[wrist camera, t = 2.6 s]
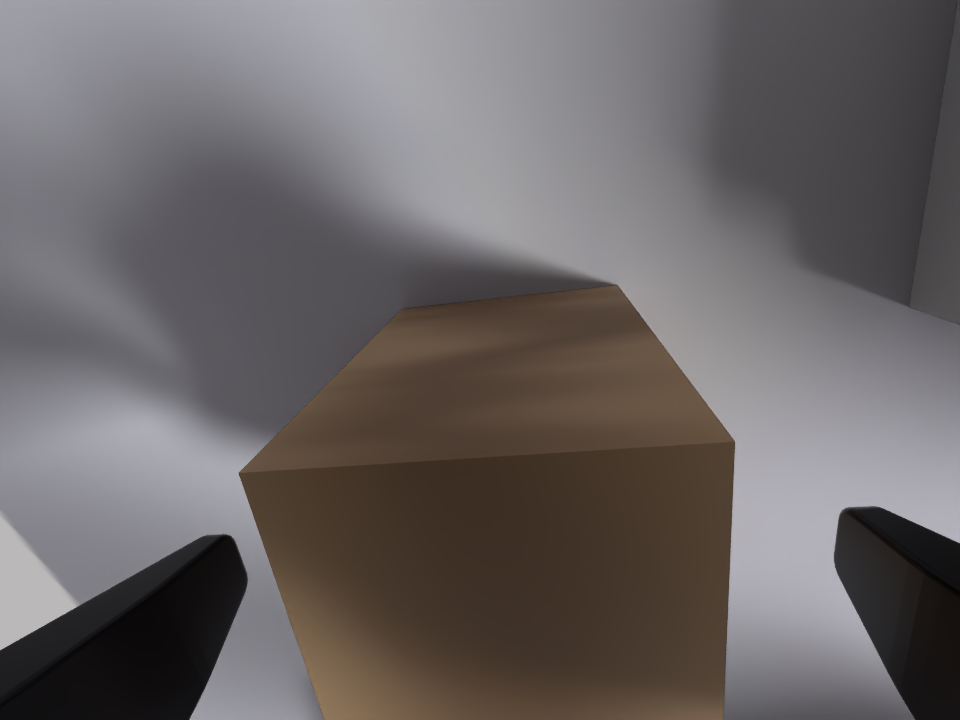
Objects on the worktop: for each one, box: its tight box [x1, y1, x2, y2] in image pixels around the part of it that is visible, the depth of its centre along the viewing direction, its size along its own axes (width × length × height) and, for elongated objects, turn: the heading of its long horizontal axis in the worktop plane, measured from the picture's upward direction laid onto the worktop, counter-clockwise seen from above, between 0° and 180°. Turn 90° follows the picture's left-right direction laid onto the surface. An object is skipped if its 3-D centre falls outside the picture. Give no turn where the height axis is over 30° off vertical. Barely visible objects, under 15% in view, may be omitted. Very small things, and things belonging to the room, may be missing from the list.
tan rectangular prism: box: [239, 285, 735, 720], centre depth 9 cm, size 5×5×7 cm
